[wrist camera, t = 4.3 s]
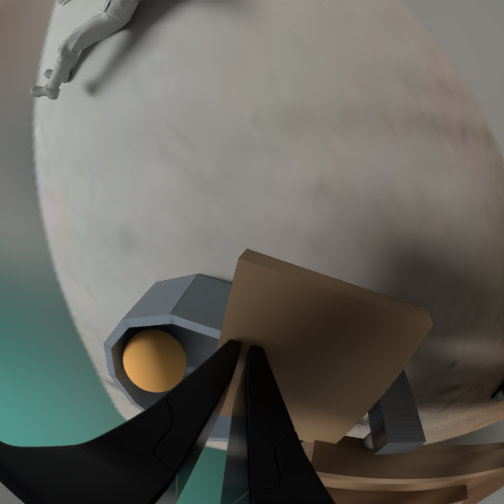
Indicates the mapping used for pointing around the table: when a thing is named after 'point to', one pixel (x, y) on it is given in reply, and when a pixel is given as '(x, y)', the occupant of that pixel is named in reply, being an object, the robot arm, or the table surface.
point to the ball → (154, 360)
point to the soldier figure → (84, 42)
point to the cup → (173, 332)
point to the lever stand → (395, 420)
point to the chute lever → (346, 382)
